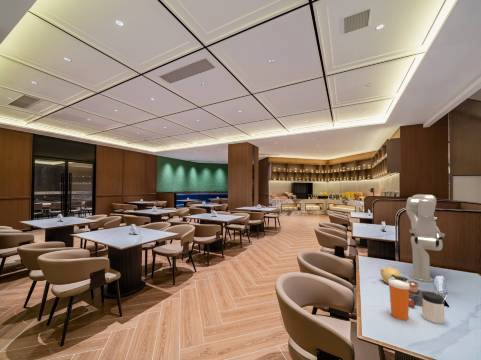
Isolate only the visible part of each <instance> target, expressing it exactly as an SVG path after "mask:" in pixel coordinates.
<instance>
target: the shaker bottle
mask: <svg viewBox="0 0 481 360" xmlns="http://www.w3.org/2000/svg"><path fill="white" fill-rule="evenodd" d="M408 281H409V279H408V278H407V277H406V276H405V277H404V276H402V277H400V276H395V275H393V274H392V275H391V277H390V279H389V283H387V284H388V288H389V300H390V301H389V302H390V313H391V316H392V317H394V318H396V319H398V320H400V321H401V320H402V321H408V319H409V308H410V307H409V289H410V284H409V283H408Z"/></svg>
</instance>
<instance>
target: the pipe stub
mask: <svg viewBox="0 0 481 360" xmlns="http://www.w3.org/2000/svg"><path fill="white" fill-rule="evenodd" d="M407 282H408V283H409V284H410V289H409V292H411V293H414V294H417V289H418V287H419V283H418V282H417V281H416V282H415V281H411V280H407Z"/></svg>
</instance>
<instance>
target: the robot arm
mask: <svg viewBox="0 0 481 360" xmlns="http://www.w3.org/2000/svg"><path fill="white" fill-rule="evenodd" d="M406 199H407V200H406V206H405V211H406V214H407V217H408V219H409V220H410V226H411V229H409V230H408V231H409V233H410V235H411V238H410V243H411V250H412V273H410V277H411V278H412V279H414V280H417V281H420V282H425V283H432V282H433V281H434V279H433V278H432V277H431V269H430V267H431V264H430V263H431V262H430V255H429V253H428V252H427V250H428V251H436V252H437V251H442V249H443V246H444V245H443V239H444V237H445V236H446V234H445V233H443V232H442V231H440V228H439V227H438V226H437V222H436V221H435V220H438V217H435V215H434V213H435V211H436V208H437V207H436V206H437V198H436V196H435V195H433V194H421V193H420V194H414V195H412V196H410V197H408V198H406Z"/></svg>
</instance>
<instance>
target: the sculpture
mask: <svg viewBox="0 0 481 360" xmlns="http://www.w3.org/2000/svg"><path fill="white" fill-rule="evenodd" d="M392 274H393V275H395V276H400V277H403V276H402V274H401V273H400V272H399V269H397V268H393V267H390V266H387V267H384V268H380V275H381V278H382V280H383V281H384V283H385V284H388V283H389V279H390V277H391V275H392Z"/></svg>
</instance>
